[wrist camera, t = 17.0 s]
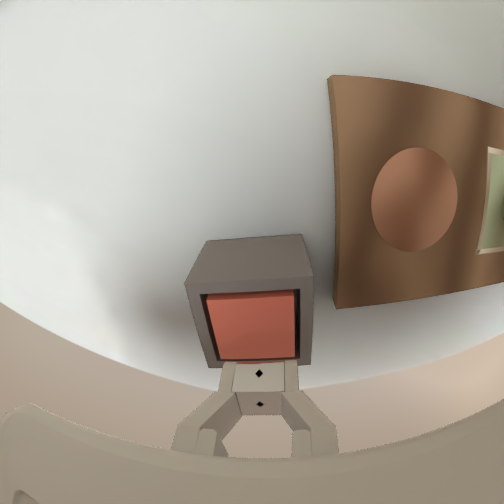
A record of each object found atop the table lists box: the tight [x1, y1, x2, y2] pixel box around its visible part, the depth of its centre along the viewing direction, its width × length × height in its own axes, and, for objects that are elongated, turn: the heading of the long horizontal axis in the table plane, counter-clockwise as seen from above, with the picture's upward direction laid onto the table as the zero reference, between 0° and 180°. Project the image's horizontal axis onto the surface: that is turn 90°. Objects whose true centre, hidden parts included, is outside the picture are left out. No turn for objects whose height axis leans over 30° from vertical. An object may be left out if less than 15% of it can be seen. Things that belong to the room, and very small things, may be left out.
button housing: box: [184, 234, 314, 368], centre depth 15 cm, size 6×6×5 cm
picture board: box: [327, 75, 504, 309], centre depth 14 cm, size 20×14×1 cm
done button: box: [206, 289, 295, 359], centre depth 14 cm, size 4×4×2 cm
